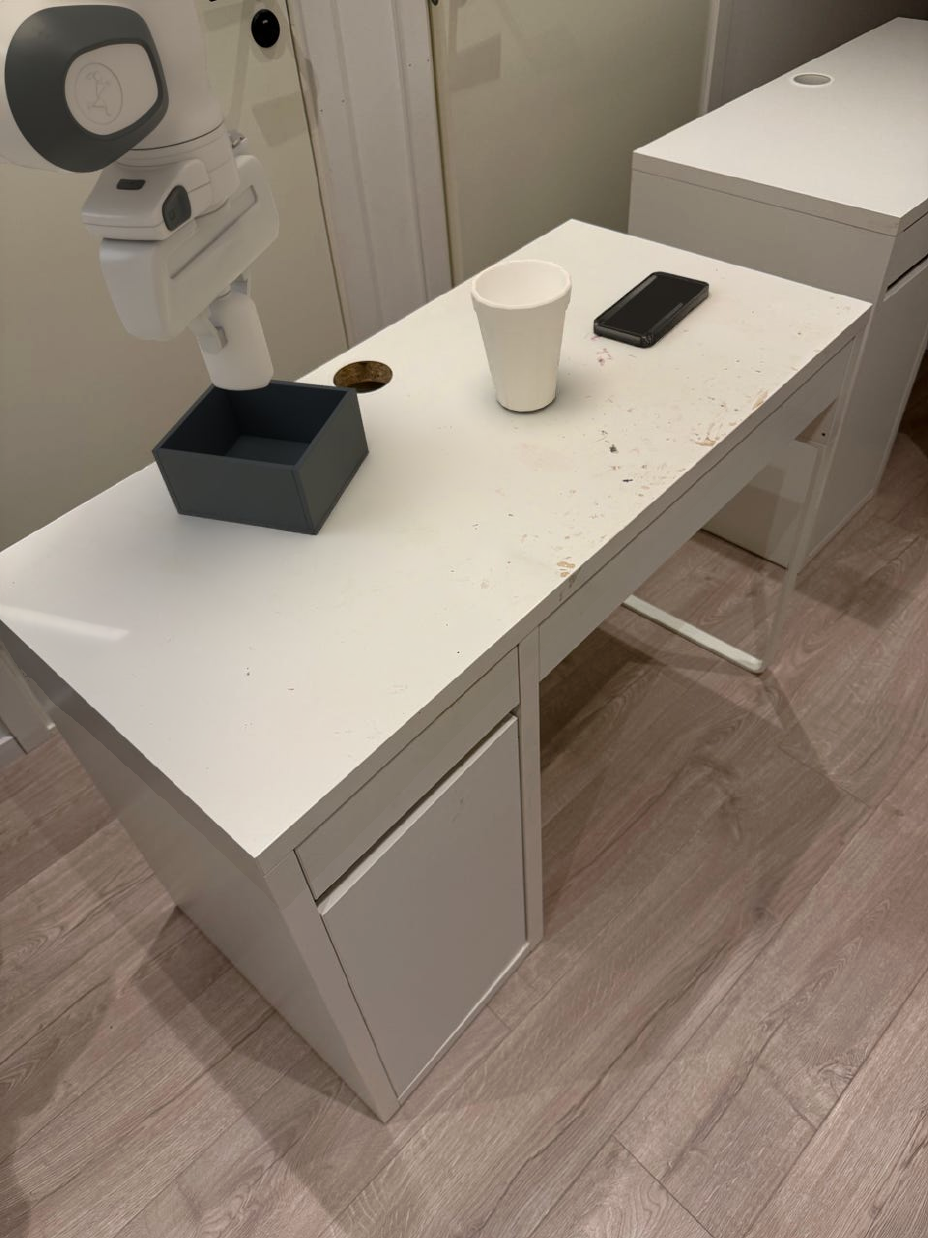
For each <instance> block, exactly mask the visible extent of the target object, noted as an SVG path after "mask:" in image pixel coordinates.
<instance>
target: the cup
mask: <svg viewBox="0 0 928 1238" xmlns="http://www.w3.org/2000/svg"><path fill="white" fill-rule="evenodd" d="M572 282H573V281H572V275H571V274H570V273H569V272H568V271H567V270H566V269H565V268H563V266H561V265H559V264H556V263H553V262H550V261H547V260H539V259H531V258H530V259H529V258H528V259H515V260H509V261H505V262H501V263H497V264H493V265H492V266H489V267H488V268H486V269H484V270H482V271H480V272H479V273H478V274H477V276H475V278H474V279H473V280H472V281H471V282H470V290H469V291H470V297H471V298H470V299H471V302H472V307H473V310H474V312H475V314H476V318H477V322H478V326H479V331H480V334H481V339H482V342H483V347H484V350H485V355H486V359H487V362H488V366H489V371H490V375H491V379H492V383H493V387H494V391H495V395H496V400H497V402H498V403H499V404H500V405H501V406H502V407H504V408H506V409H508V410H509V411H515V412H534V411H537V410H540V409H543V408H545V407H546V406H548V405H549V404H551V403H552V402H553V401H554V399H555V398H556V389H557V381H558V372H559V366H560V358H561V351H562V344H563V343H562V342H563V335H564V328H565V320H566V312H567V310H568V308H569V305H570V304H571V297H572V288H573V283H572Z"/></svg>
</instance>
